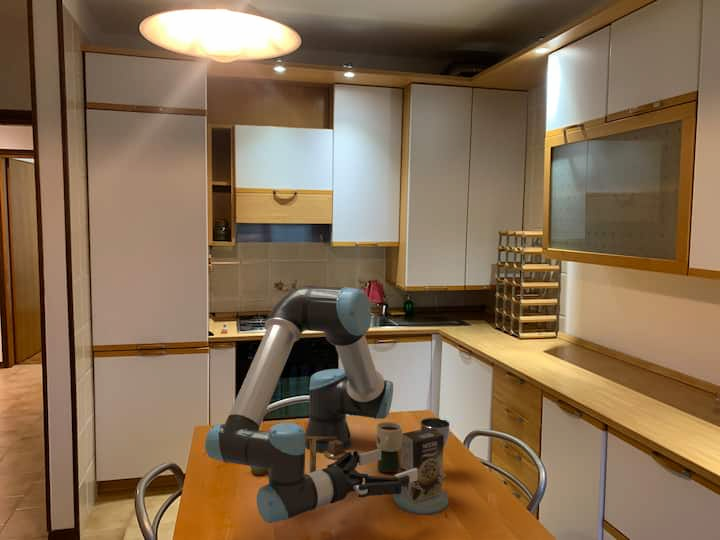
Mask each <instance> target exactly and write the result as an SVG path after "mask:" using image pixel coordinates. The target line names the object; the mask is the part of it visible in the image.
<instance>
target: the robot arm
mask: <svg viewBox="0 0 720 540" xmlns="http://www.w3.org/2000/svg"><path fill="white" fill-rule="evenodd" d="M371 309H372V304H371V301H370V298H369V296H368V294H367V293H366V292H365V291H363V290H362V289H359V288H353V287H348V286H347V287H346V286H345V287H341V286H340V287H339V286H321V285H319V286H318V285H302V286H298V287H297V288H295V289H292V290H291V291H290V292H288V293H286V294H285V295H284V296H283V297H282V298H281V299H279V301H278V302H276V304H275V305H274V306H273V308H272V309H271V310H270V312H269V313H268V316H267V318H266V320H265V323H264V329H265V332H264V335H263V337H262V340H261V341H260V344H259V346H258V348H257V351H256V353H255V355H254V358H253V360H252V361H251V364H250V367H249V368H248V371H247V374H246V375H245V376H246V377H244V380H243V383H242V385H241V388H240V389H239V392H238V394H237V396H236V398H235V401H234V403H233V405H232V407H231V410H230V412H229V414H228V416H227V418H226V420H225V423H221V424H219V423H217V424H214V425H213V426H212V427H211V428H210V429H208V432H207V434H206V437H205V441H204V443H205V444H204V448H205V452H206V455H207V457H208V458H210V459H212V460H215V461H219V462H223V463H226V464H228V463H230V464H235V465H236V464H237V465H243V466H249V467H250V466H252V467H258V468H263V469H268V470H269V471H268V484H265V485H263V486H262V487H260V488H259V489H258V491H257V494H256V508H257V510H258V514H259V515H260V518H261V519H262V520H264V522H265V523H268V524H273V523H274V524H275V523H277V522H281V521H288V520H289V519H291V518H293V517H296V516H299V515H301V514H304V513H307V512H309V511H313V510H314V511H315V510H316V509H320V508H322V507H325V506H327V505H330V504H332V505H333V504H334V503H337V502H340V501H343V500H344V499H346V498H347V496H348V494H350V493H351V492H353V493H354V492H356V493H358V498H367V497H370V496H371V497H372V496H388V495H389V496H390V495H394V494H401V487H402V486H403V485H406V484H409V483H411V482H414V481H417V477H418V469H417V468H414V469H411V470H408V471H405V472H402V473H399V472H398V473H396V474H394V475H393V476H378V475H377V476H376V475H369V474H368V473H361V472H359V471H358V470H357V469H356V468H357V467H358V465H359V466H360V467H362V466H366V465H368V464H372V463H375V462H378V461H379V460H381V449H379V448H376V449H372V450H370V451H367V452H363V453H360V454H359V451H357V450H354V451H353V452H351V451H347V453H346V454H345V455H343V456H342V457H341V458H339V459H338V460H335V461H333V463H329V464H327V467H324V468H322V469H318V470H317V469H316V471H314V472H311V473H310V472H308V473H305V470H306V466H305V465H306V450H307V449H309V450H310V440H305V436H337V440H339V441H340V442H342V443H343V450H346V449H348V448H349V447H350V446H351V444H352V435H351V431H350V428H349V425H348V421H347V415H349V416H356V417H357V416H359V417H365V418H370V419H375V420H378V419H380V420H385V419H386V418H387V417H388V416H389V414H390V410H391V408H392V407H391V406H392V401H393V395H394V394H393V393H394V383H393V381H391V380H388V379H386V380H384V376H383V375H382V374H381V372H380V371H378V370H377V369H376V366H375V364H374V361H373V358H372V354H371V351H370V347H369V344H368V341H367V338H366V334H367V332H368V331H369V330H370V327H371V323H372V319H373V318H372V316H373V315H372V313H373V312H372V310H371ZM305 331H310V332H321V333H324V337H325V339H326V341H327V342H329V343H330V344H331V345H333V346H335V350H336V353H337V354H338V357H339V359H340V362H341V365H342V368H330V369H324V370H320V371H317V372H315V373H313V374H311V377H310V380H309V381H310V382H309V387H308V390H309V399H308V400H309V408H308V410H309V411H308V412H309V413H308V416H309V418H308V422H307V425H306V428H305V430H304V428H303V427H302V426H301V425H299V424H297V423H294V422H280V423H277V424H274V425H273V426H271V427H270V428H269V431H266V430H260V429H261V424H262V422H263V419H265V418H264V417H265V416H266V415H265V414H266V413H267V411H268V407H269V405H270V403H271V400H272V398H273V395H274V394H275V393H274V392H275V390H276V387H277V385H278V382H279V381H280V378H281V376H282V375H281V374H282V373H283V370H284V367H285V365H286V362H287V360H288V358H289V356H290V353H291V350H292V348H293V345H294V343H295V342H297V341H299V340H300V339H301V336H302V333H303V332H305ZM330 441H334V440H316V452H319V453H324V452H325V451H326V450H328V442H330ZM306 448H307V449H306Z"/></svg>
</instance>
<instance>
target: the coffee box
mask: <svg viewBox="0 0 720 540" xmlns="http://www.w3.org/2000/svg"><path fill="white" fill-rule="evenodd" d="M443 445H444V435H442V434H440V433H438V432H436V431H434V430H432V429H430V428H427V429H422V430H421V429H417V430H413V431H408V432H402V447H401V449H400V450H401V452H400V453H401V455H400V473H402V472H405V471H408V470H411V469H414V468H417V469H418V477H417V481H414V482H411V483H409V484H406V485H403V486H402V487H401V495H402V496H404V497H405V498H406V499H407V500H409V501H410V502H411V503H412V504H414V503H418V502H422V501H425V500H429V499H432V498H436V497H440V496H442V490H443V479H442V471H443V470H444V469H443V464H444V447H443Z"/></svg>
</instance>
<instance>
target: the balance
mask: <svg viewBox="0 0 720 540" xmlns="http://www.w3.org/2000/svg"><path fill="white" fill-rule="evenodd" d="M305 440H310V449H309V473H311V472H314V471H317V451H316V440H334V441H330V442H328V450H326V451H325V452H323V453H324V454H323V456H324V458H326V459H328V460H332V461H334V460H335V461H337V460H338V459H339V458H341V457H342V456H343V455H345V454H346V453H347V452H348V451H347V450H346V449H344V450H343V443H342V442H340V441H339V440H337V436H305Z"/></svg>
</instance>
